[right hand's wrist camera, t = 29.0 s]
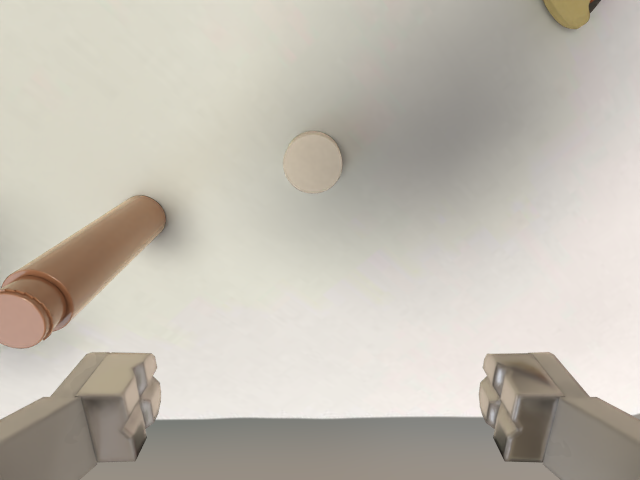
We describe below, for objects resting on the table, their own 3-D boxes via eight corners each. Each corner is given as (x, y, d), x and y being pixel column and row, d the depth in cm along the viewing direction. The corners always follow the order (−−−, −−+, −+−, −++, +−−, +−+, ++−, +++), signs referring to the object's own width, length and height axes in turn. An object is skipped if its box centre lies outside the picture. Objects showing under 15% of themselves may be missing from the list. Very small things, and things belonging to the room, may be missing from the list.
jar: (174, 227, 40) (67, 338, 23) (136, 244, 40) (6, 364, 24) (150, 188, 38) (19, 275, 22) (111, 206, 39) (-45, 304, 22)
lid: (294, 123, 36) (293, 126, 34) (348, 141, 37) (350, 145, 35) (278, 177, 38) (276, 183, 36) (330, 193, 38) (331, 200, 36)
